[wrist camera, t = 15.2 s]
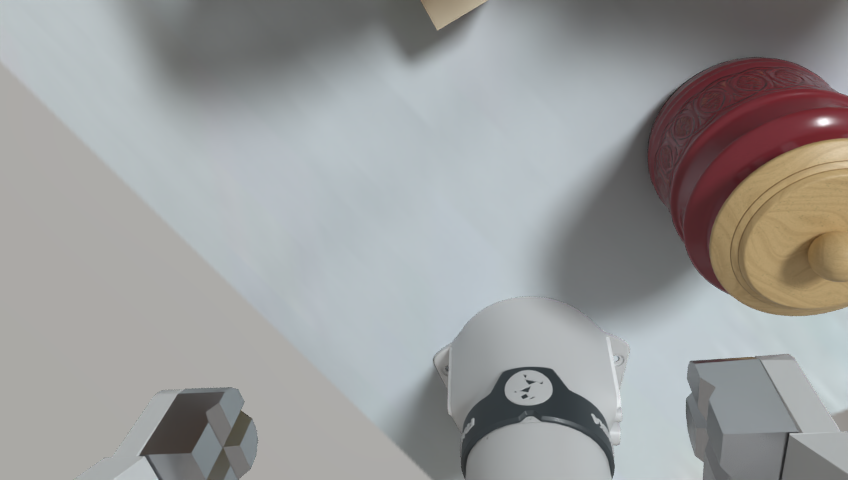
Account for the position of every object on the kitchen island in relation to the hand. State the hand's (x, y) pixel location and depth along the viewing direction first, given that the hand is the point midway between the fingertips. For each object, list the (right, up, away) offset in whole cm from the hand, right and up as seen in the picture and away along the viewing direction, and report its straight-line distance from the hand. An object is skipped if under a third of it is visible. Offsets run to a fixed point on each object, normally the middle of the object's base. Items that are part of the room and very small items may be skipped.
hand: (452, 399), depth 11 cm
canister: (+23, +11, +34) cm, 43 cm away
